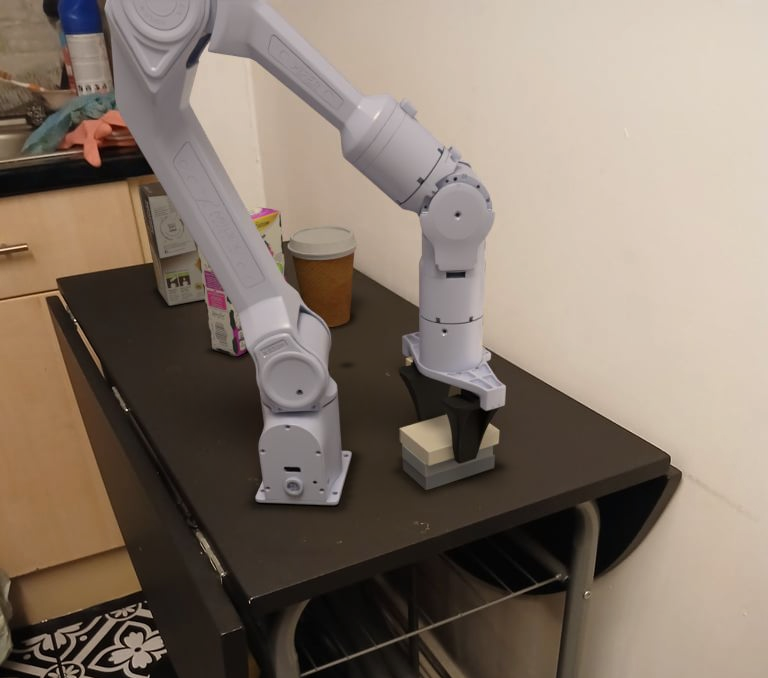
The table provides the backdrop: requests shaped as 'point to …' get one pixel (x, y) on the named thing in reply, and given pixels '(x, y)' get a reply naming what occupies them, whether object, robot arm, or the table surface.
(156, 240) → the coffee box
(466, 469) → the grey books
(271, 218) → the candy bar box
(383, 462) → the table surface
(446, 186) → the robot arm
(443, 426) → the cream rectangular block
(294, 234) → the disposable coffee cup
